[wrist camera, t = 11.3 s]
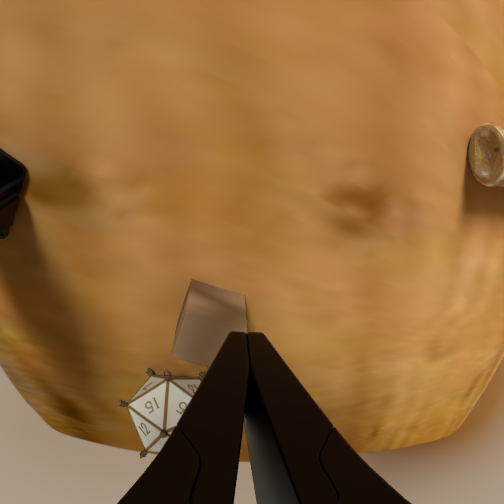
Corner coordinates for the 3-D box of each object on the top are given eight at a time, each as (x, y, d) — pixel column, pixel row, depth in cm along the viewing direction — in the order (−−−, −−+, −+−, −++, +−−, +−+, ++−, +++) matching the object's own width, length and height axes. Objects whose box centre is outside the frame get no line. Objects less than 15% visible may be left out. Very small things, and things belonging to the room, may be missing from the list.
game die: (201, 354, 31) (257, 437, 26) (136, 396, 30) (183, 479, 24) (163, 326, 24) (233, 440, 18) (84, 380, 22) (136, 491, 17)
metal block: (177, 319, 24) (170, 356, 21) (191, 278, 23) (185, 314, 19) (226, 333, 25) (226, 370, 22) (244, 294, 23) (247, 331, 20)
